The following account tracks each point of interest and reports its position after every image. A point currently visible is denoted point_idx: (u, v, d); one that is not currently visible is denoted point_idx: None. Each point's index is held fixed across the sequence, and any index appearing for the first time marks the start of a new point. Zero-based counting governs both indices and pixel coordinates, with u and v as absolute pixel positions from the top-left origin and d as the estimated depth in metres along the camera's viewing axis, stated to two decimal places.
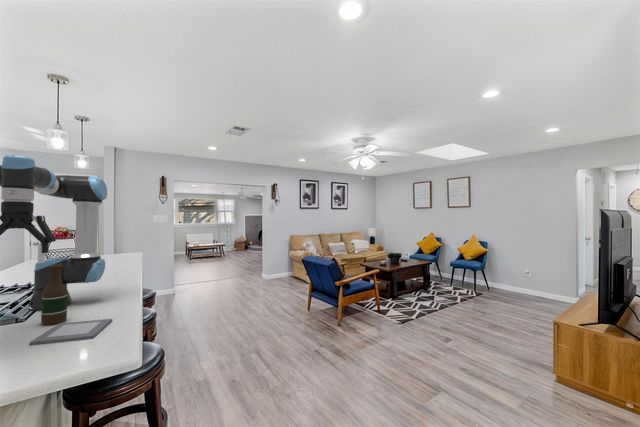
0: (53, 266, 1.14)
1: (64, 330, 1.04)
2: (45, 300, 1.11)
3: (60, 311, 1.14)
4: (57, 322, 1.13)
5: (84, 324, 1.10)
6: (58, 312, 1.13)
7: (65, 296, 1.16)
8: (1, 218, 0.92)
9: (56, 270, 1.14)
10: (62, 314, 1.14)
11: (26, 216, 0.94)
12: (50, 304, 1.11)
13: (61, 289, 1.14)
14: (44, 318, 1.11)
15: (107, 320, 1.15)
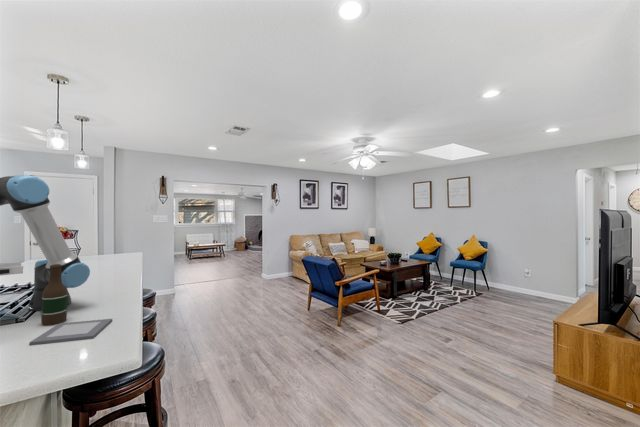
0: (53, 266, 1.14)
1: (64, 330, 1.04)
2: (45, 300, 1.11)
3: (60, 311, 1.14)
4: (57, 322, 1.13)
5: (84, 324, 1.10)
6: (58, 312, 1.13)
7: (65, 296, 1.16)
8: None
9: (56, 270, 1.14)
10: (62, 314, 1.14)
11: None
12: (50, 304, 1.11)
13: (61, 289, 1.14)
14: (44, 318, 1.11)
15: (107, 320, 1.15)
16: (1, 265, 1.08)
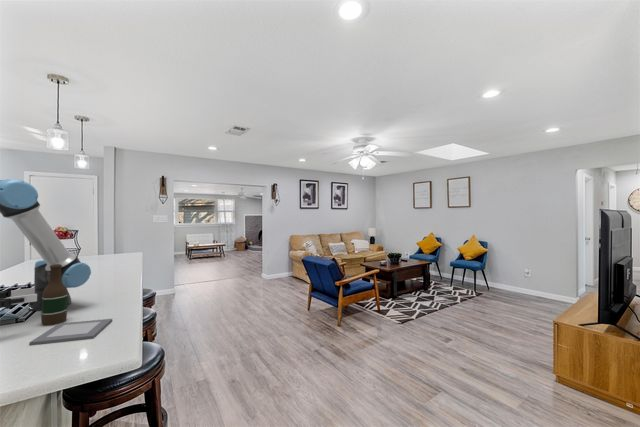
0: (53, 266, 1.14)
1: (64, 330, 1.04)
2: (45, 300, 1.11)
3: (60, 311, 1.14)
4: (57, 322, 1.13)
5: (84, 324, 1.10)
6: (58, 312, 1.13)
7: (65, 296, 1.16)
8: None
9: (56, 270, 1.14)
10: (62, 314, 1.14)
11: None
12: (50, 304, 1.11)
13: (61, 289, 1.14)
14: (44, 318, 1.11)
15: (107, 320, 1.15)
16: (15, 292, 1.11)
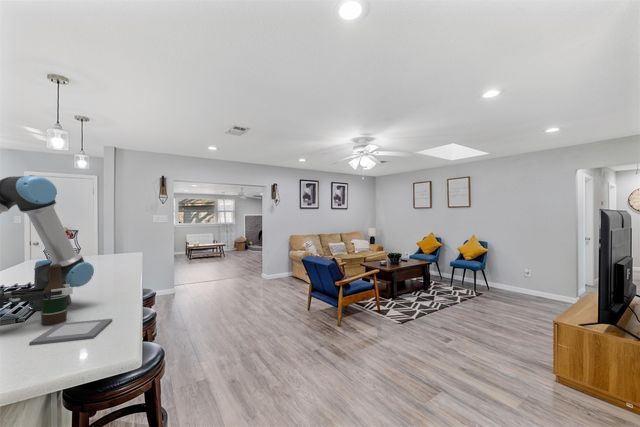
0: (53, 266, 1.14)
1: (64, 330, 1.04)
2: (45, 300, 1.11)
3: (60, 311, 1.14)
4: (57, 322, 1.13)
5: (84, 324, 1.10)
6: (58, 312, 1.13)
7: (65, 296, 1.16)
8: None
9: (56, 270, 1.14)
10: (62, 314, 1.14)
11: (8, 301, 1.03)
12: (50, 304, 1.11)
13: None
14: (44, 318, 1.11)
15: (107, 320, 1.15)
16: None
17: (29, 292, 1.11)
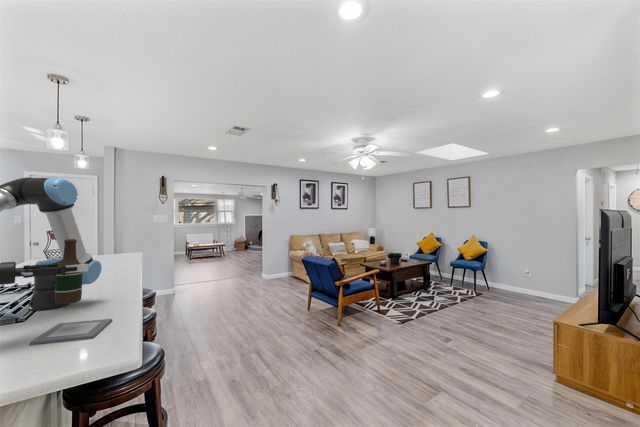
0: (68, 240, 1.05)
1: (64, 330, 1.04)
2: (59, 276, 1.03)
3: (75, 289, 1.05)
4: (71, 301, 1.04)
5: (84, 324, 1.10)
6: (72, 290, 1.04)
7: (80, 273, 1.07)
8: None
9: (71, 245, 1.06)
10: (77, 292, 1.06)
11: (20, 276, 0.95)
12: (64, 281, 1.03)
13: None
14: (58, 296, 1.02)
15: (107, 320, 1.15)
16: None
17: (42, 268, 1.03)
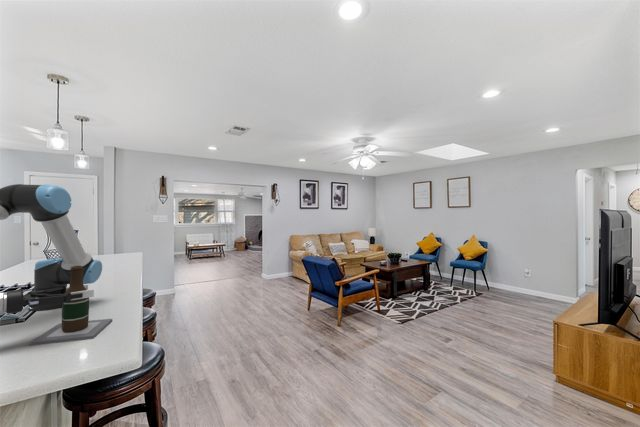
0: (74, 268, 1.04)
1: None
2: (66, 305, 1.02)
3: (82, 317, 1.05)
4: (79, 329, 1.04)
5: None
6: (79, 318, 1.04)
7: (87, 300, 1.07)
8: None
9: (78, 272, 1.05)
10: (84, 320, 1.05)
11: (28, 304, 0.94)
12: (71, 309, 1.02)
13: None
14: (65, 324, 1.02)
15: (107, 320, 1.15)
16: None
17: (48, 293, 1.02)
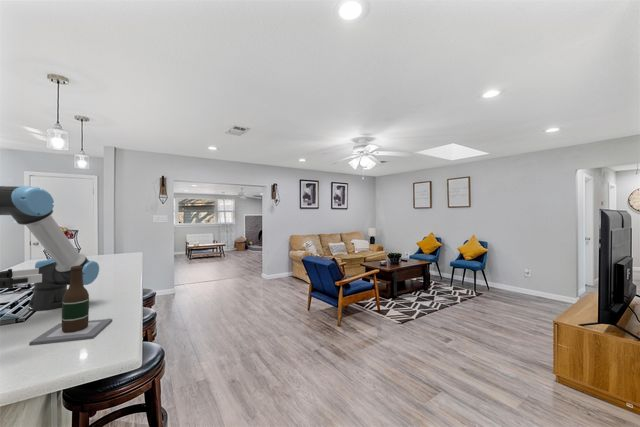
0: (74, 268, 1.05)
1: None
2: (66, 305, 1.02)
3: (82, 317, 1.05)
4: (79, 329, 1.04)
5: None
6: (79, 318, 1.04)
7: (87, 300, 1.07)
8: None
9: (78, 272, 1.05)
10: (84, 320, 1.05)
11: None
12: (71, 309, 1.02)
13: (83, 293, 1.05)
14: (65, 324, 1.02)
15: (107, 320, 1.15)
16: (17, 272, 0.99)
17: None
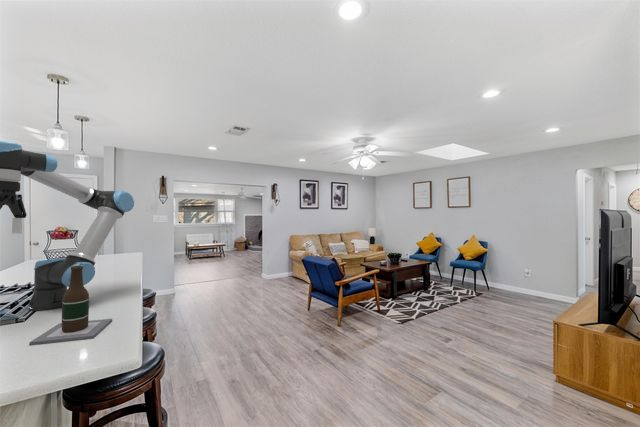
0: (74, 268, 1.05)
1: None
2: (66, 305, 1.02)
3: (82, 317, 1.05)
4: (79, 329, 1.04)
5: None
6: (79, 318, 1.04)
7: (87, 300, 1.07)
8: None
9: (78, 272, 1.05)
10: (84, 320, 1.05)
11: None
12: (71, 309, 1.02)
13: (83, 293, 1.05)
14: (65, 324, 1.02)
15: (107, 320, 1.15)
16: (18, 221, 1.16)
17: (13, 206, 1.13)
